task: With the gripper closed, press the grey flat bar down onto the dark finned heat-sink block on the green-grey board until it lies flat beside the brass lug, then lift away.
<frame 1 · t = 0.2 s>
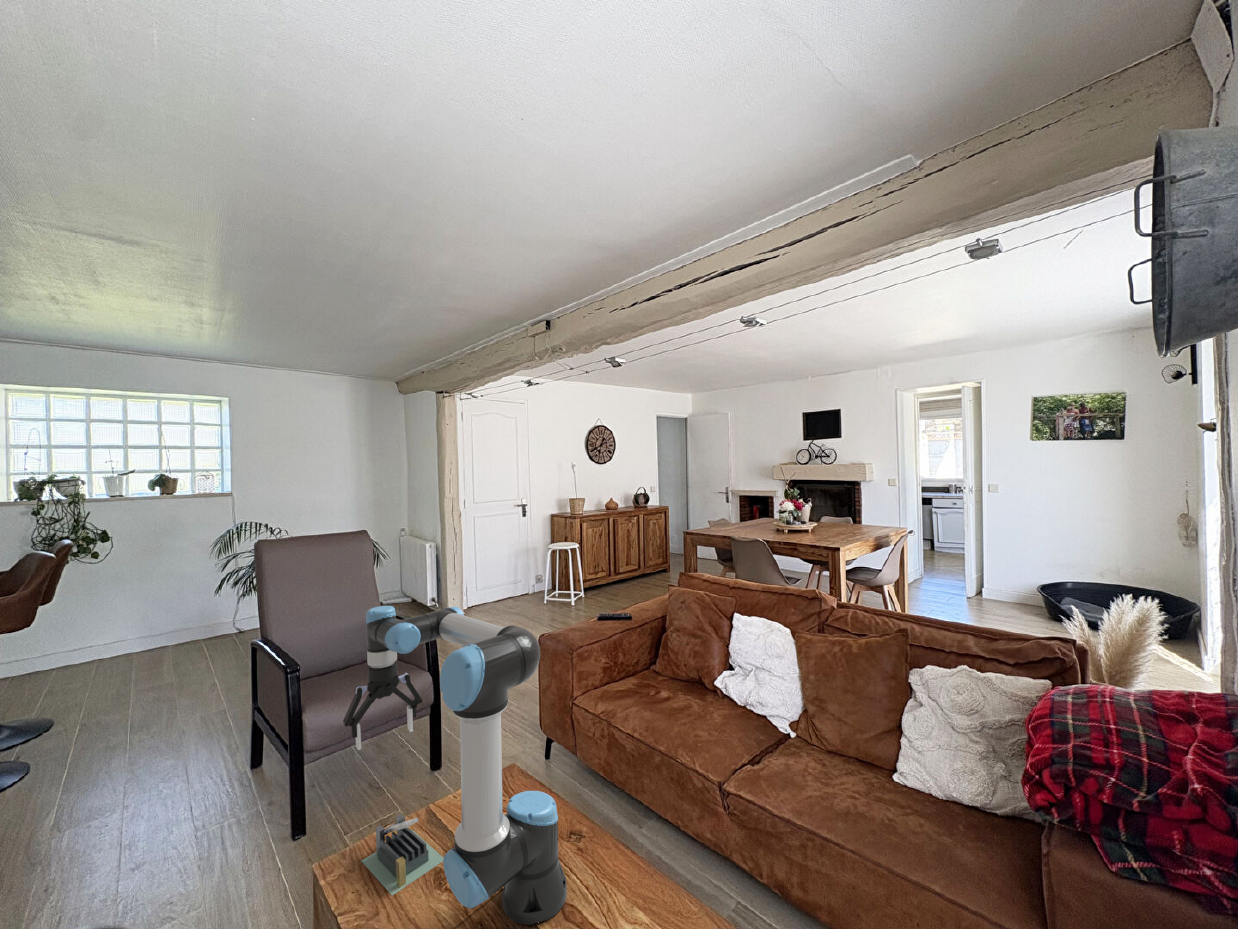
hand: (385, 738, 143), 27 cm above the table, fingers open, 13 cm apart
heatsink: (403, 860, 133), resting on board
grey flat bar: (400, 826, 133), point 10 cm above the table, hinge at 30.0°
lug: (401, 884, 125), resting on board
pivot bracket: (391, 848, 137), resting on board
pottery mug: (480, 848, 138), on the table
board: (403, 864, 133), on the table
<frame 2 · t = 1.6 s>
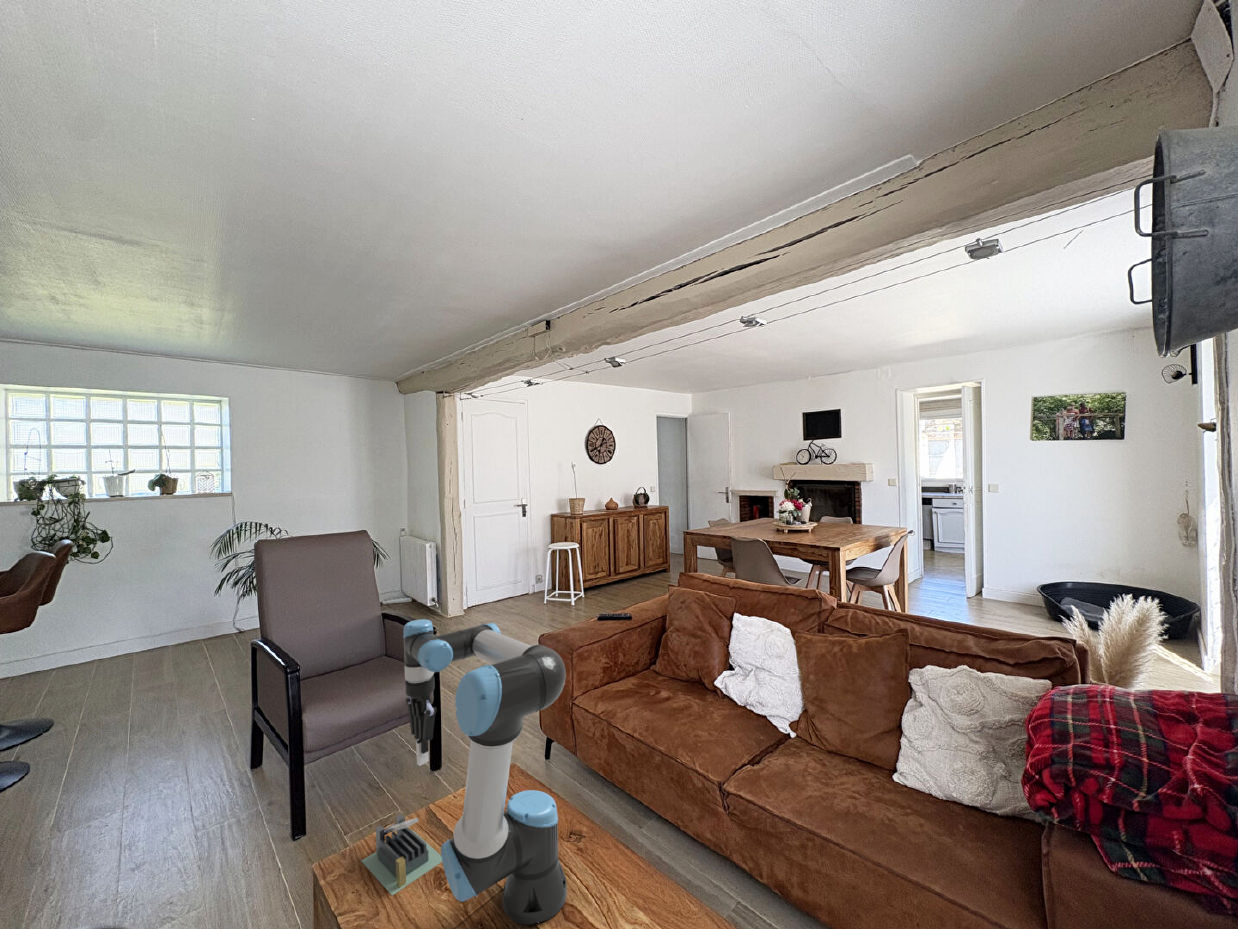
hand: (422, 762, 141), 21 cm above the table, fingers closed
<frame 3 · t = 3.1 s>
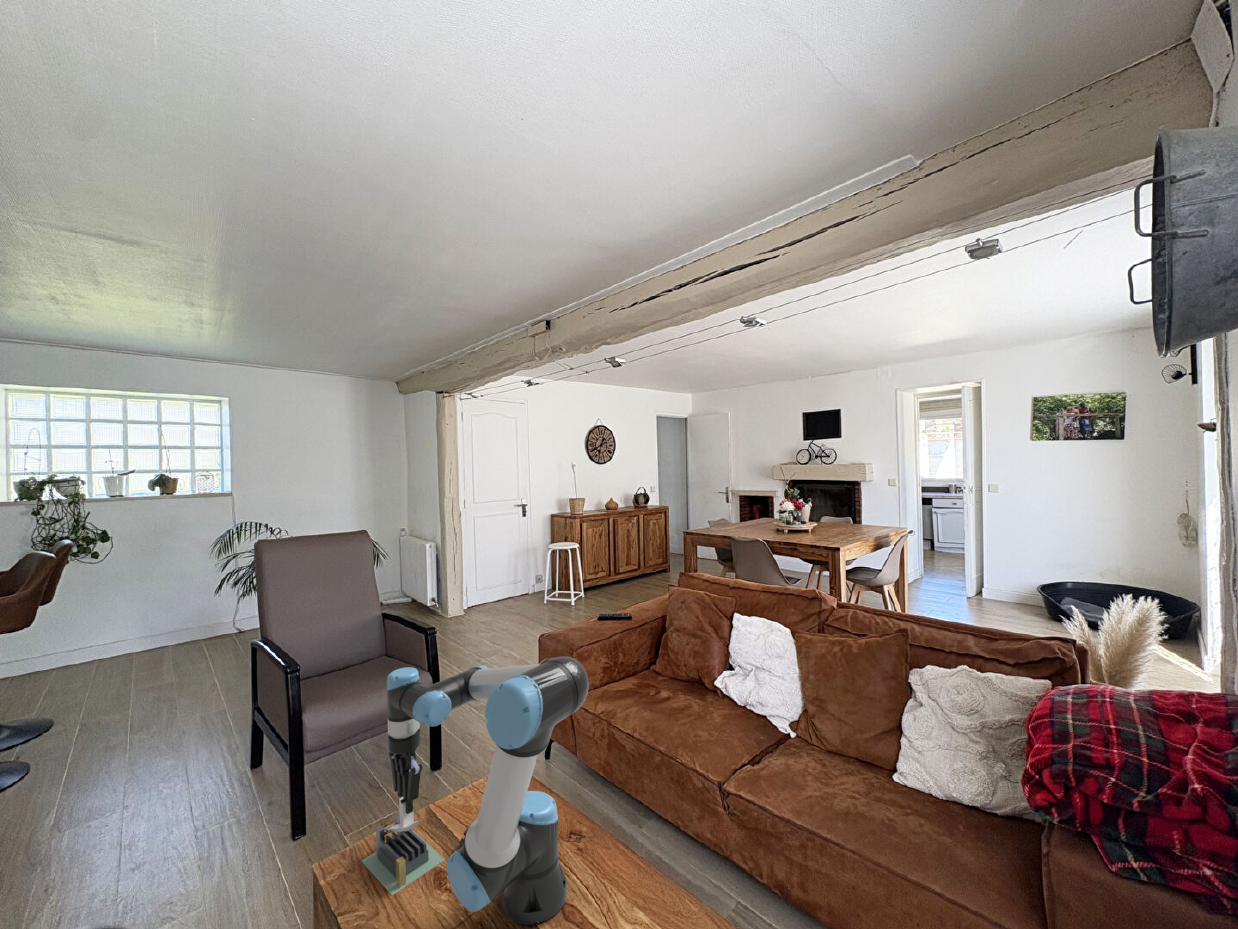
hand: (406, 822, 131), 12 cm above the table, fingers closed
grey flat bar: (401, 827, 133), point 10 cm above the table, hinge at 27.1°, touching gripper
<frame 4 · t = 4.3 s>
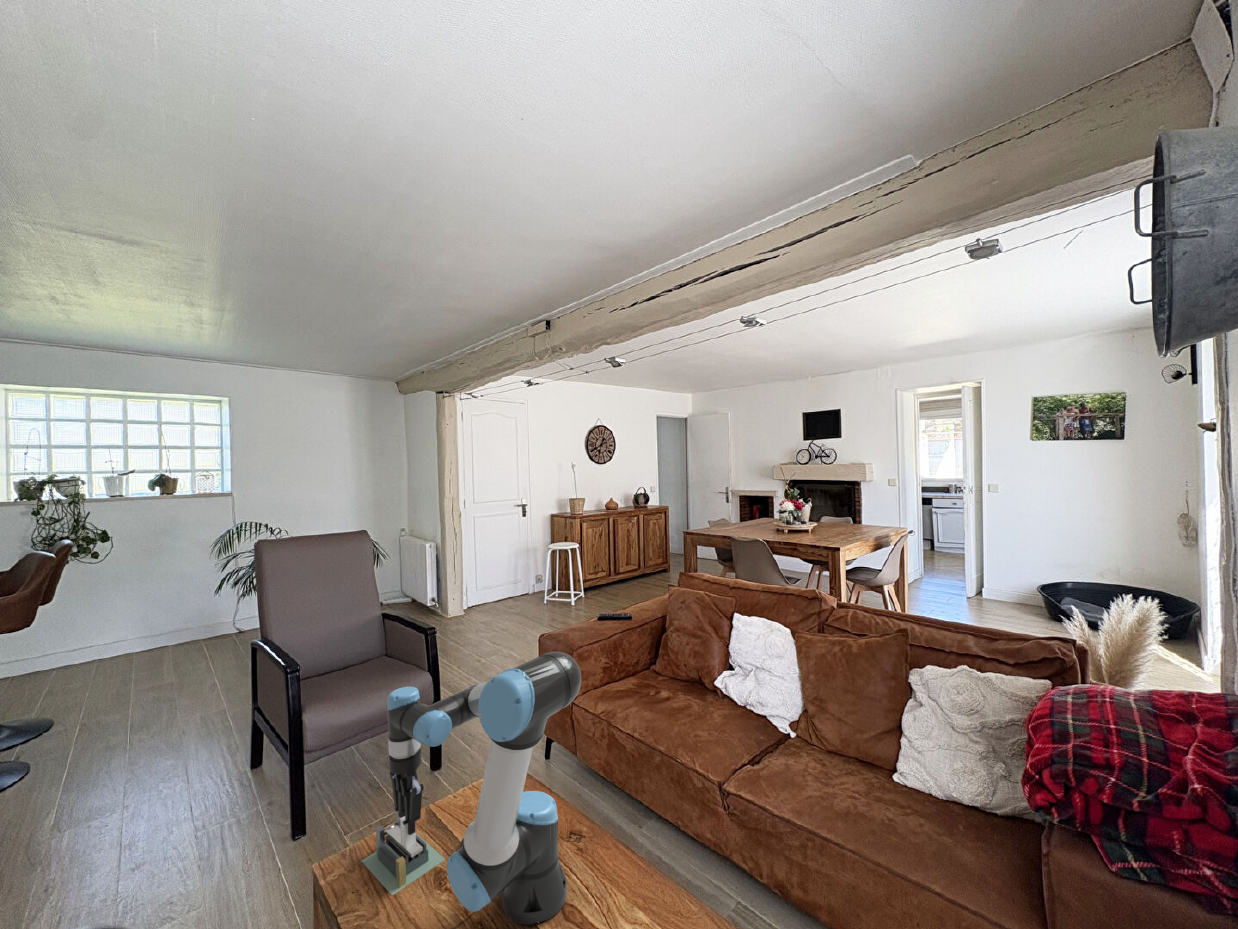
hand: (408, 843, 131), 7 cm above the table, fingers closed on grey flat bar
grey flat bar: (402, 839, 133), point 7 cm above the table, hinge at 1.4°, touching gripper
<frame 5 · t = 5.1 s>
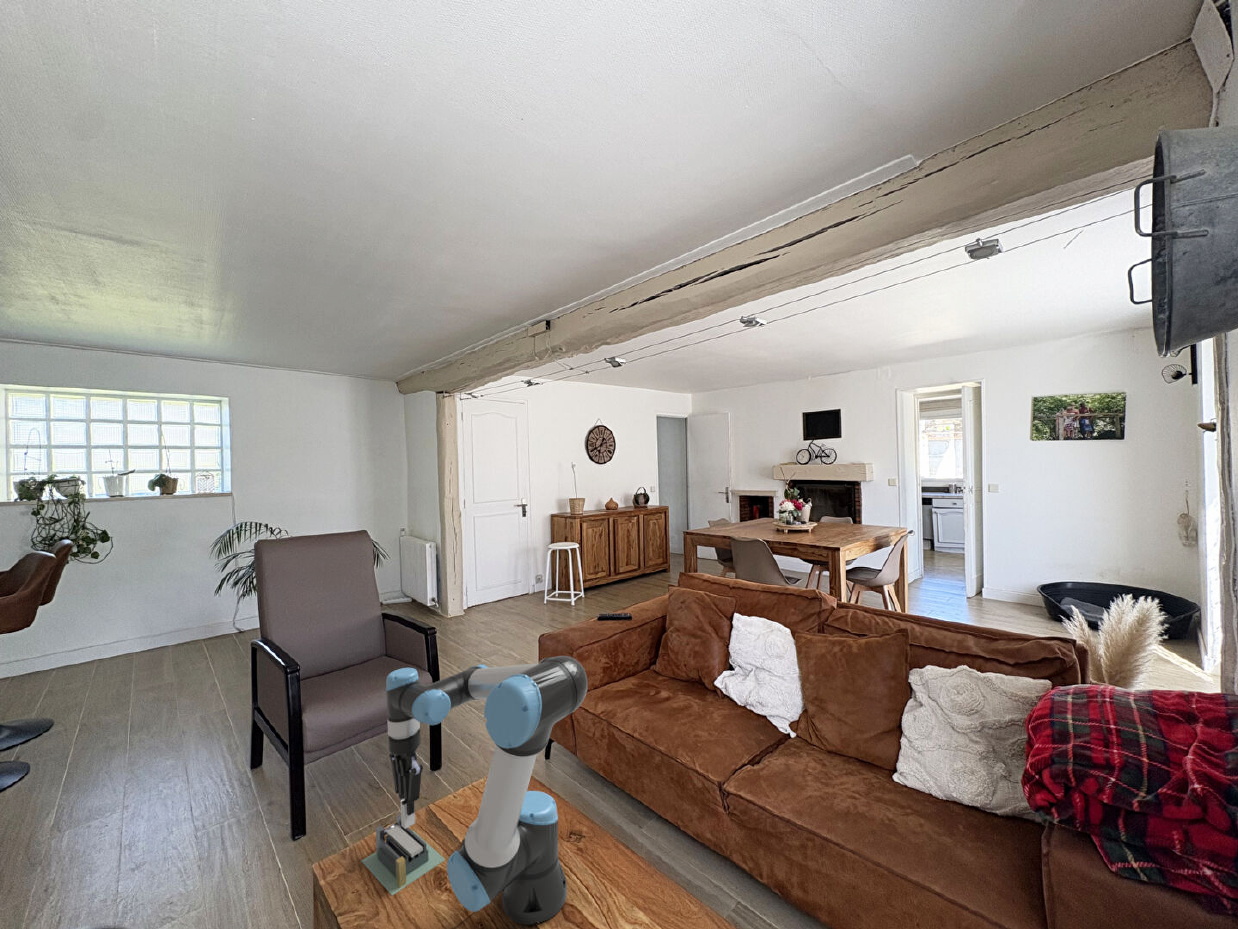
hand: (408, 824, 130), 12 cm above the table, fingers closed
grey flat bar: (402, 839, 133), point 7 cm above the table, hinge at 1.3°
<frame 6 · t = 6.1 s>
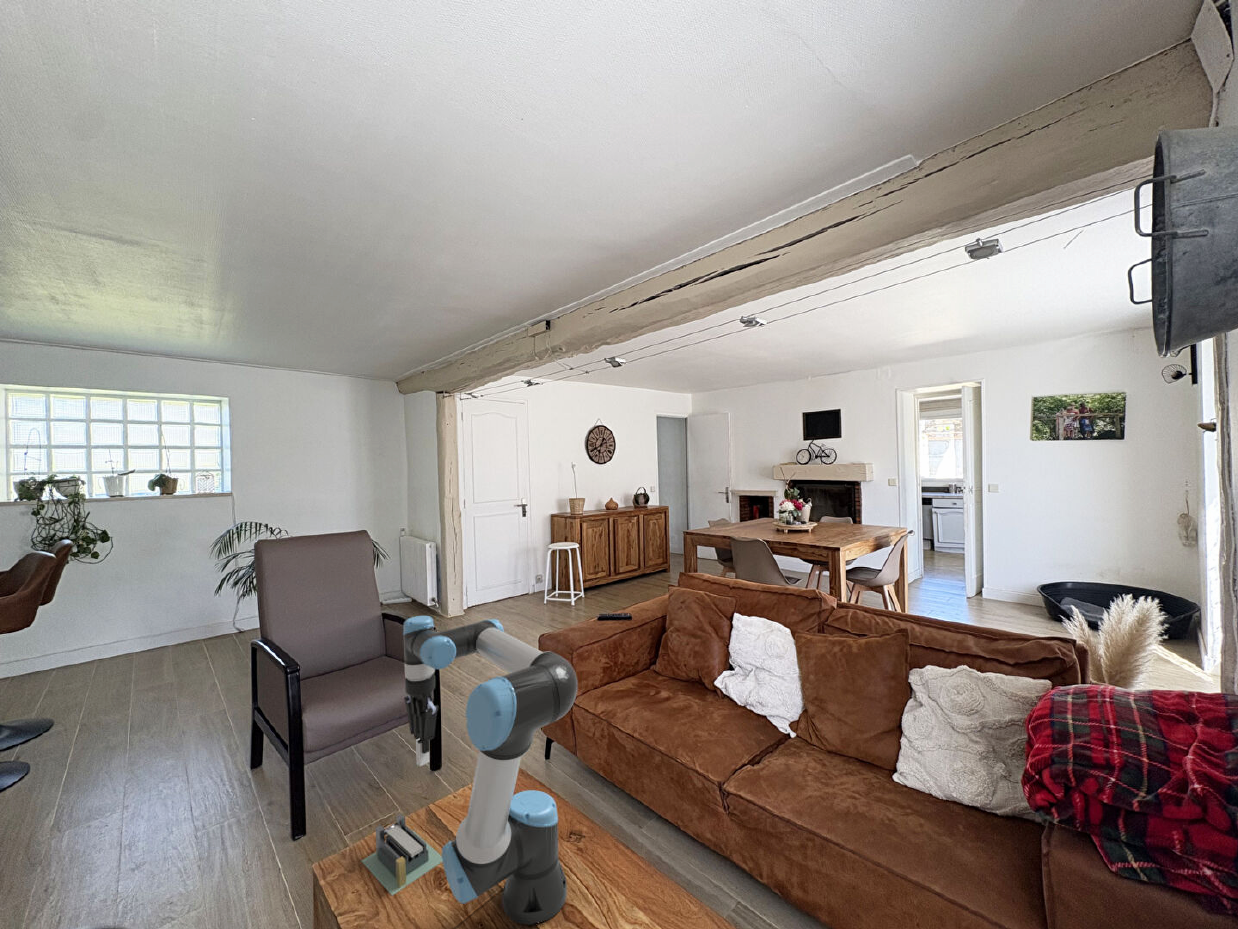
hand: (423, 762, 138), 23 cm above the table, fingers closed
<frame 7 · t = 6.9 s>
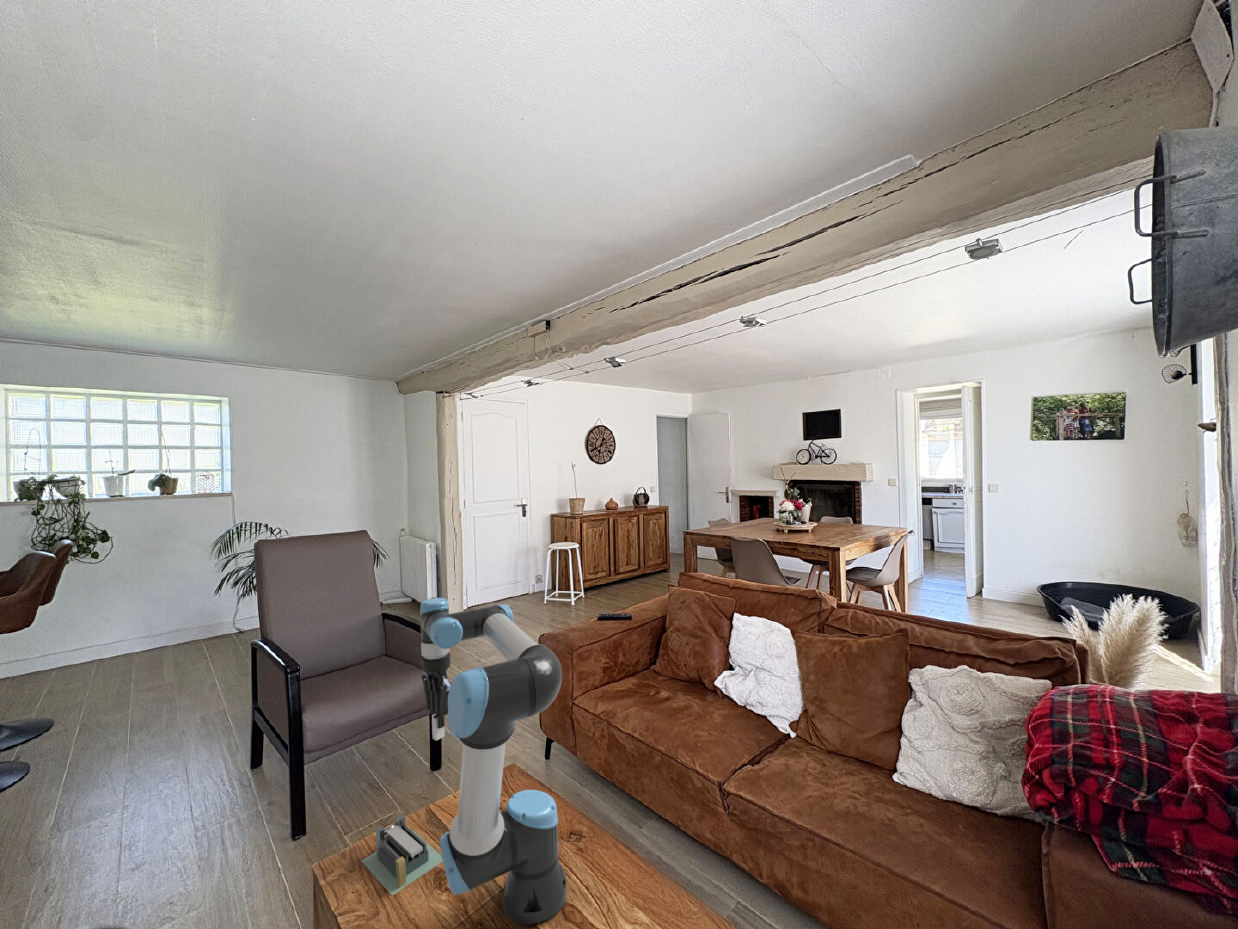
hand: (438, 737, 145), 26 cm above the table, fingers closed
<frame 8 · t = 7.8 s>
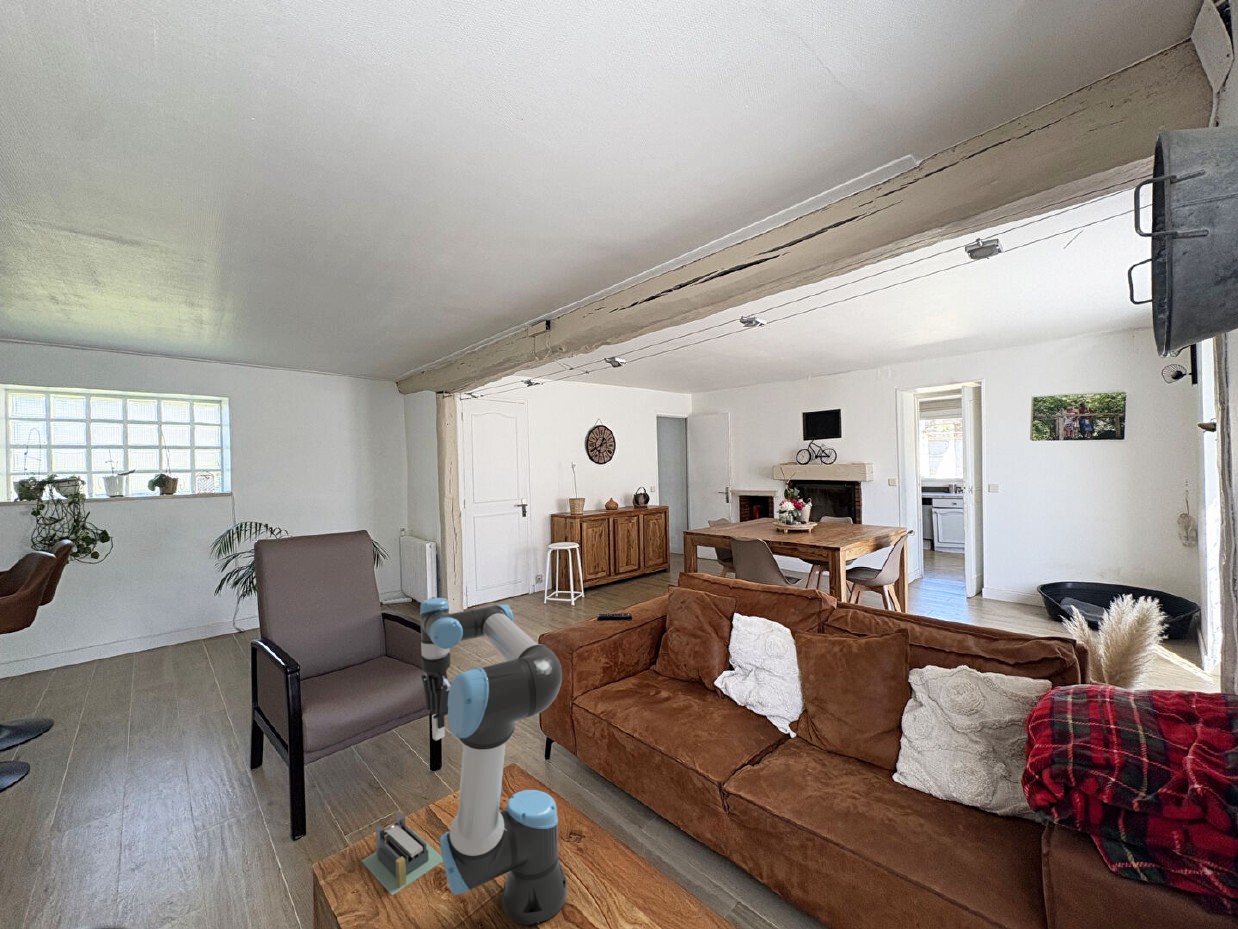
hand: (438, 737, 145), 26 cm above the table, fingers closed
at the end: grey flat bar at +1° (first picture: +30°) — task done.
